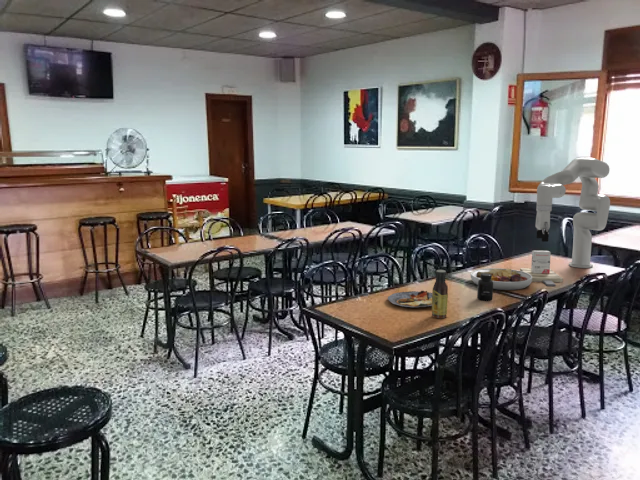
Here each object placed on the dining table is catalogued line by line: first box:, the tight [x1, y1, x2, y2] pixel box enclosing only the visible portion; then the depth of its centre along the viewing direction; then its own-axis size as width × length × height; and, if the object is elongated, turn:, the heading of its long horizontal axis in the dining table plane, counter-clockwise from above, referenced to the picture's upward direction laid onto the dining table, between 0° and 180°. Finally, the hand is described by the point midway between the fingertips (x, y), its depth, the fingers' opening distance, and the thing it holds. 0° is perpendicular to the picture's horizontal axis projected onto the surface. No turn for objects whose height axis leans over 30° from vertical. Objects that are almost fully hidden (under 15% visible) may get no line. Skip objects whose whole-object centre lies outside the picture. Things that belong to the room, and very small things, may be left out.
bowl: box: [470, 267, 533, 291], centre depth 263 cm, size 30×30×8 cm
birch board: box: [519, 267, 564, 283], centre depth 275 cm, size 22×16×2 cm
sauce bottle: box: [431, 269, 449, 319], centre depth 211 cm, size 6×6×20 cm
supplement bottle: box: [476, 273, 494, 302], centre depth 235 cm, size 7×7×12 cm
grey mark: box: [544, 282, 556, 287], centre depth 258 cm, size 4×4×2 cm
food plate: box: [387, 290, 432, 308], centre depth 233 cm, size 25×23×4 cm
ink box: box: [530, 250, 552, 274], centre depth 275 cm, size 9×5×12 cm, turn 82°
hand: (542, 239), depth 273 cm, fingers open, 9 cm apart
